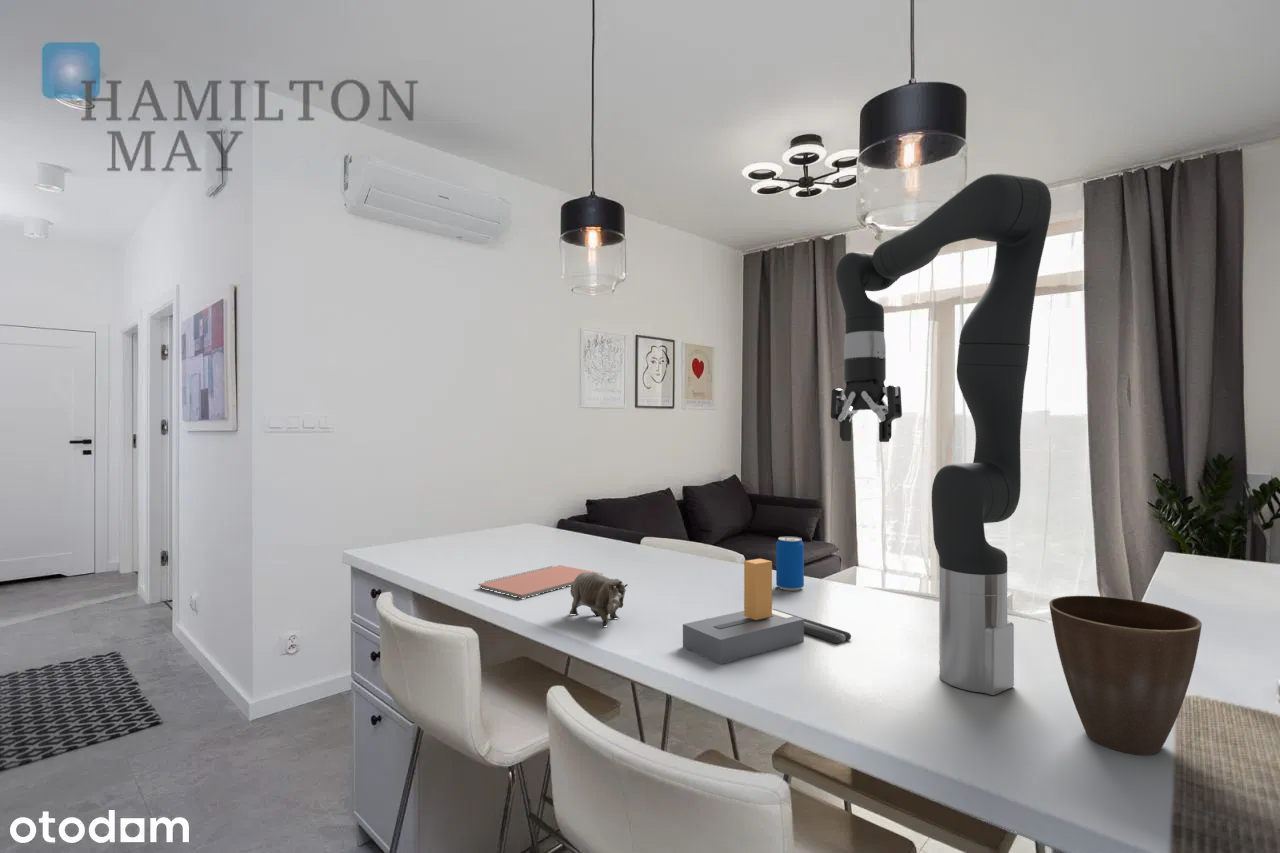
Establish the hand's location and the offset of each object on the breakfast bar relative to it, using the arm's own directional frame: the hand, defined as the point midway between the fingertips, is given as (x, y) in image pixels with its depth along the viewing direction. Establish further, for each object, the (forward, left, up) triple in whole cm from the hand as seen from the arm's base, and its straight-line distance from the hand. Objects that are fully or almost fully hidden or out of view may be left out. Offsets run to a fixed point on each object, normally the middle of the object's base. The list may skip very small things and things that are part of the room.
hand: (864, 441), depth 122 cm
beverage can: (+30, -12, -36) cm, 49 cm away
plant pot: (-45, +11, -36) cm, 59 cm away
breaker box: (+7, +25, -36) cm, 44 cm away
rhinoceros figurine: (+33, +39, -36) cm, 63 cm away
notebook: (+69, +35, -37) cm, 86 cm away
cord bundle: (+7, +12, -36) cm, 39 cm away
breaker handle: (+7, +22, -32) cm, 39 cm away
